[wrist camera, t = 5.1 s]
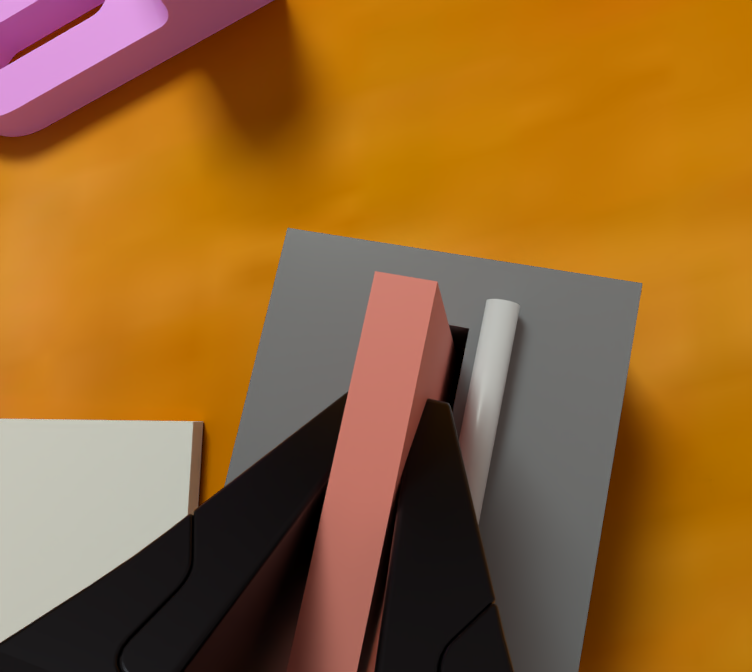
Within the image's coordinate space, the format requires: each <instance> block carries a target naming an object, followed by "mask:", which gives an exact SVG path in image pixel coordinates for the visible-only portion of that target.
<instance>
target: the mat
mask: <svg viewBox="0 0 752 672" xmlns="http://www.w3.org/2000/svg"><path fill="white" fill-rule="evenodd" d="M202 435H203V421H132V420H61V419H0V642H2V641H3V640H5V639H7V638H8V637H10V636H11V635H13V634H14V633H16V632H17V631H19V630H21V629H22V628H24V627H25V626H27V625H28V624H30V623H31V622H33V621H35V620H36V619H38V618H39V617H41V616H42V615H44V614H45V613H47V612H49V611H50V610H52V609H53V608H55V607H56V606H58V605H59V604H61V603H63V602H64V601H66V600H67V599H69V598H70V597H72V596H73V595H75V594H77V593H78V592H80V591H81V590H83V589H84V588H86V587H87V586H89V585H91V584H92V583H94V582H95V581H97V580H98V579H100V578H101V577H103V576H104V575H106V574H107V573H109V572H110V571H111V570H113V569H114V568H116V567H117V566H119V565H120V564H122V563H123V562H125V561H126V560H128V559H129V558H131V557H132V556H134V555H135V554H136V553H138V552H139V551H141V550H142V549H143V548H145V547H146V546H147V545H149V544H150V543H151V542H153V541H154V540H155V539H157V538H158V537H160V536H161V535H162V534H164V533H165V532H166V531H168V530H169V529H170V528H172V527H173V526H174V525H175V524H177V523H178V522H179V521H181V520H182V519H183V518H184V517H186V516H187V515H188V514H192V515H193V512H194V510H195V509H196V508H198V503H199V486H200V469H201V452H202Z"/></svg>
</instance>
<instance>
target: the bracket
mask: <svg viewBox="0 0 752 672" xmlns="http://www.w3.org/2000/svg"><path fill="white" fill-rule="evenodd" d="M272 1H274V0H0V135H2V136H9V137H18V136H25V135H28V134H32V133H35V132H37V131H40V130H42V129H44V128H46V127H47V126H49V125H51V124H53V123H54V122H56V121H58V120H60V119H62V118H63V117H65V116H67V115H69V114H71V113H72V112H74V111H76V110H78V109H80V108H81V107H83V106H85V105H87V104H89V103H90V102H92V101H94V100H96V99H98V98H99V97H101V96H103V95H105V94H107V93H108V92H110V91H112V90H114V89H116V88H117V87H119V86H121V85H123V84H125V83H126V82H128V81H130V80H132V79H134V78H135V77H137V76H139V75H141V74H143V73H144V72H146V71H148V70H150V69H152V68H153V67H155V66H157V65H159V64H160V63H162V62H164V61H166V60H168V59H169V58H171V57H173V56H175V55H177V54H178V53H180V52H182V51H184V50H186V49H187V48H189V47H191V46H193V45H195V44H196V43H198V42H200V41H202V40H204V39H205V38H207V37H209V36H211V35H213V34H214V33H216V32H218V31H220V30H222V29H223V28H225V27H227V26H229V25H231V24H232V23H234V22H236V21H238V20H240V19H241V18H243V17H245V16H247V15H249V14H250V13H252V12H254V11H256V10H258V9H259V8H261V7H263V6H265V5H267V4H268V3H270V2H272ZM102 3H104V4H103V5H102V7H101V8H100V10H99V11H98V12H97V13H96V14H95V15H93V16H92V17H90V18H88V19H87V20H85V21H83V22H81V23H80V24H78V25H76V26H74V27H73V28H71V29H69V30H68V31H66V32H64V33H62V34H61V35H59V36H57V37H55V38H54V39H52V40H50V41H49V42H47V43H45V44H43V45H42V46H40V47H38V48H36V49H35V50H33V51H31V52H30V53H28V54H26V55H24V56H23V57H21V58H19V59H17V60H16V61H14V62H12V63H11V64H9V62H10V61H11V59H12V58H13V57H14V56H15V55H16V54H17V53H18V52H19V51H21V50H23V49H24V48H26V47H28V46H30V45H31V44H33V43H35V42H37V41H38V40H40V39H42V38H43V37H45V36H47V35H49V34H50V33H52V32H54V31H56V30H57V29H59V28H61V27H62V26H64V25H66V24H68V23H69V22H71V21H73V20H75V19H76V18H78V17H80V16H81V15H83V14H85V13H87V12H88V11H90V10H92V9H94V8H95V7H97V6H99V5H100V4H102ZM8 64H9V65H8Z"/></svg>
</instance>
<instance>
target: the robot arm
mask: <svg viewBox="0 0 752 672" xmlns="http://www.w3.org/2000/svg"><path fill="white" fill-rule="evenodd" d="M347 396H348V391H347V392H346V393H345V394H344V395H342V396H341V397H340V398H338V399H337V400H336V401H335V402H333V403H332V404H331V405H329V406H328V407H327V408H326V409H324V410H323V411H322V412H320V413H319V414H318V415H316V416H315V417H314V418H313V419H311V420H310V421H309V422H307V423H306V424H305V425H304V426H302V427H301V428H300V429H298V430H297V431H296V432H295V433H293V434H292V435H291V436H289V437H288V438H287V439H285V440H284V441H283V442H282V443H280V444H279V445H278V446H276V447H275V448H274V449H273V450H271V451H270V452H269V453H267V454H266V455H265V456H264V457H262V458H261V459H260V460H258V461H257V462H256V463H254V464H253V465H252V466H251V467H249V468H248V469H247V470H245V471H244V472H243V473H242V474H240V475H239V476H238V477H236V478H235V479H234V480H233V481H231V482H230V483H229V484H227V485H226V486H225V487H224V488H222V489H221V490H220V491H218V492H217V493H216V494H214V495H213V496H212V497H211V498H209V499H208V500H207V501H205V502H204V503H203V504H202V505H200V506H199V507H198V508H196V509H195V510H194V512H193V515H192V514H188V515H187V516H186V517H184V518H183V519H182V520H181V521H179V522H178V523H177V524H175V525H174V526H173V527H172V528H170V529H169V530H168V531H166V532H165V533H164V534H162V535H161V536H160V537H158V538H157V539H155V540H154V541H153V542H151V543H150V544H149V545H147V546H146V547H145V548H143V549H142V550H141V551H139V552H138V553H136V554H135V555H134V556H132V557H131V558H129V559H128V560H126V561H125V562H123V563H122V564H120V565H119V566H117V567H116V568H114V569H113V570H111V571H110V572H109V573H107V574H106V575H104V576H103V577H101V578H100V579H98V580H97V581H95V582H94V583H92V584H91V585H89V586H87V587H86V588H84V589H83V590H81V591H80V592H78V593H77V594H75V595H73V596H72V597H70V598H69V599H67V600H66V601H64V602H63V603H61V604H59V605H58V606H56V607H55V608H53V609H52V610H50V611H49V612H47V613H45V614H44V615H42V616H41V617H39V618H38V619H36V620H35V621H33V622H31V623H30V624H28V625H27V626H25V627H24V628H22V629H21V630H19V631H17V632H16V633H14V634H13V635H11V636H10V637H8V638H7V639H5V640H3V641H2V642H0V672H287V667H288V663H289V658H290V654H291V649H292V645H293V640H294V636H295V631H296V626H297V622H298V617H299V613H300V608H301V604H302V599H303V595H304V590H305V586H306V581H307V577H308V572H309V568H310V563H311V559H312V554H313V550H314V545H315V541H316V536H317V531H318V527H319V522H320V518H321V513H322V509H323V504H324V500H325V495H326V491H327V486H328V482H329V477H330V473H331V468H332V464H333V459H334V455H335V450H336V446H337V441H338V436H339V432H340V427H341V423H342V418H343V414H344V409H345V405H346V400H347ZM494 603H495V594H494V590H493V586H492V581H491V577H490V573H489V568H488V564H487V560H486V556H485V551H484V547H483V543H482V538H481V534H480V530H479V526H478V521H477V517H476V513H475V508H474V504H473V500H472V496H471V491H470V487H469V483H468V478H467V474H466V470H465V466H464V461H463V457H462V453H461V448H460V444H459V440H458V436H457V431H456V427H455V423H454V418H453V414H452V410H451V406H450V404H449V403H447V402H443V401H439V400H434V399H430V398H428V399H427V401H426V404H425V407H424V410H423V412H422V415H421V418H420V421H419V424H418V427H417V430H416V433H415V436H414V439H413V442H412V445H411V447H410V450H409V453H408V456H407V459H406V463H405V466H404V469H403V472H402V476H401V483H400V491H399V498H398V505H397V512H396V519H395V526H394V533H393V541H392V548H391V555H390V562H389V569H388V576H387V583H386V591H385V598H384V605H383V612H382V619H381V626H380V633H379V640H378V648H377V655H376V662H375V669H374V672H514V669H513V666H512V662H511V658H510V654H509V651H508V647H507V643H506V639H505V635H504V631H503V627H502V623H501V618H500V614H499V610H498V606H497V605H496V604H494Z"/></svg>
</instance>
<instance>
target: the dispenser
mask: <svg viewBox="0 0 752 672" xmlns="http://www.w3.org/2000/svg"><path fill="white" fill-rule="evenodd" d="M375 271H377V272H383V273H389V274H395V275H401V276H407V277H413V278H419V279H425V280H432V281H437V282H438V285H439V289H440V293H441V297H442V301H443V305H444V308H445V312H446V316H447V320H448V324H449V328H450V331H451V335H452V339H453V343H454V347H456V348H461V349H465V352H464V357H463V362H462V367H461V372H460V377H459V382H458V387H457V392H456V397H455V402H454V407H453V412H452V414H453V418H454V423H455V427H456V431H457V436H458V440H459V444H460V448H461V453H462V457H463V461H464V466H465V470H466V474H467V478H468V483H469V487H470V491H471V496H472V500H473V504H474V508H475V513H476V517H477V521H478V526H479V530H480V534H481V538H482V543H483V547H484V551H485V556H486V560H487V564H488V568H489V573H490V577H491V581H492V586H493V590H494V594H495V603H494V604H496V605H497V606H498V610H499V614H500V618H501V623H502V627H503V631H504V635H505V639H506V643H507V647H508V651H509V654H510V658H511V662H512V666H513V669H514V672H578V670H579V664H580V658H581V652H582V646H583V640H584V634H585V628H586V621H587V615H588V609H589V603H590V597H591V591H592V585H593V579H594V573H595V567H596V561H597V555H598V549H599V543H600V537H601V531H602V525H603V519H604V512H605V506H606V500H607V494H608V488H609V482H610V476H611V470H612V464H613V458H614V452H615V446H616V440H617V434H618V428H619V422H620V416H621V410H622V403H623V397H624V391H625V385H626V379H627V373H628V367H629V361H630V355H631V349H632V343H633V337H634V331H635V325H636V319H637V313H638V307H639V301H640V294H641V288H642V283H637V282H631V281H624V280H618V279H611V278H605V277H599V276H592V275H586V274H579V273H573V272H566V271H560V270H554V269H547V268H541V267H534V266H528V265H522V264H515V263H509V262H502V261H496V260H490V259H483V258H477V257H470V256H464V255H458V254H451V253H445V252H438V251H432V250H426V249H419V248H413V247H406V246H400V245H394V244H387V243H381V242H374V241H368V240H362V239H355V238H349V237H342V236H336V235H330V234H323V233H317V232H310V231H304V230H298V229H291V228H287V233H286V237H285V241H284V245H283V249H282V253H281V257H280V261H279V265H278V269H277V273H276V278H275V282H274V286H273V290H272V294H271V298H270V302H269V306H268V310H267V314H266V319H265V323H264V327H263V331H262V335H261V339H260V343H259V347H258V351H257V355H256V359H255V364H254V368H253V372H252V376H251V380H250V384H249V388H248V392H247V396H246V400H245V404H244V409H243V413H242V417H241V421H240V425H239V429H238V433H237V437H236V441H235V445H234V449H233V454H232V458H231V462H230V466H229V470H228V474H227V478H226V482H225V486H226V485H227V484H229V483H230V482H231V481H233V480H234V479H235V478H236V477H238V476H239V475H240V474H242V473H243V472H244V471H245V470H247V469H248V468H249V467H251V466H252V465H253V464H254V463H256V462H257V461H258V460H260V459H261V458H262V457H264V456H265V455H266V454H267V453H269V452H270V451H271V450H273V449H274V448H275V447H276V446H278V445H279V444H280V443H282V442H283V441H284V440H285V439H287V438H288V437H289V436H291V435H292V434H293V433H295V432H296V431H297V430H298V429H300V428H301V427H302V426H304V425H305V424H306V423H307V422H309V421H310V420H311V419H313V418H314V417H315V416H316V415H318V414H319V413H320V412H322V411H323V410H324V409H326V408H327V407H328V406H329V405H331V404H332V403H333V402H335V401H336V400H337V399H338V398H340V397H341V396H342V395H344V394H345V393H346V392H347V391H349V387H350V382H351V378H352V373H353V369H354V364H355V360H356V355H357V351H358V346H359V341H360V337H361V332H362V328H363V323H364V319H365V314H366V310H367V305H368V301H369V296H370V292H371V287H372V283H373V278H374V274H375ZM225 486H224V487H225Z"/></svg>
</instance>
